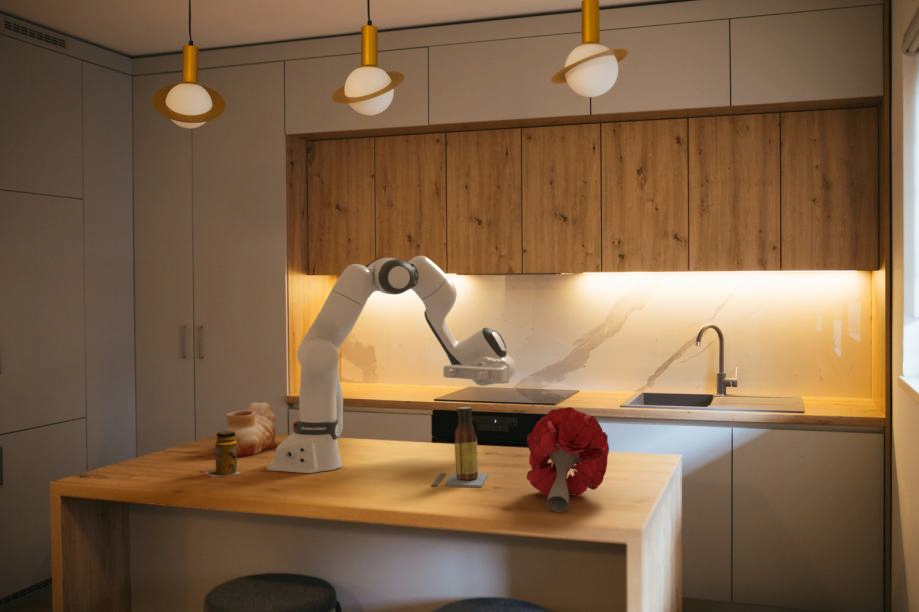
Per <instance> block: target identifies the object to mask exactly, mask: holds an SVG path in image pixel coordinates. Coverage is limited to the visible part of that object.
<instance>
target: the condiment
mask: <svg viewBox="0 0 919 612" xmlns="http://www.w3.org/2000/svg"><path fill="white" fill-rule="evenodd" d="M214 446H215V447H214V448H215V450H214V451H215V470H213V471H205V472H204V473H205V474H206V475H208V476H210V477H212V478H215V477H223V476H224V477H225V476H226V477H227V476H235V475H240V474H242V472H240V471H238V457H237V442H236V441H235V432H232V431H227V430H226V431H220V432H219V431H218V432H217V433H216V442H215V445H214Z"/></svg>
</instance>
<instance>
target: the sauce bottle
mask: <svg viewBox="0 0 919 612" xmlns="http://www.w3.org/2000/svg"><path fill="white" fill-rule="evenodd" d="M472 409H473V408H472V407H470V406H458V407H457V408H456V410H457V411H456V412H457V419H458V421H457V423H458V424H457V427H456V429H455V431H454V456H455V458H454V459H455V463H454V464H455V473H456V474H457V479H460V480H474V479H476V478H478V473H479V458H478V457H479V456H478V439H477V435H476V431H475V428H474V425H473V421H472V413H473V411H472Z"/></svg>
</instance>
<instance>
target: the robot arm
mask: <svg viewBox="0 0 919 612" xmlns="http://www.w3.org/2000/svg"><path fill="white" fill-rule="evenodd" d="M409 290H412V291H413V292H414V293H415V295H417V297H418V298H419V299H420V300H421V301H422V303H423V305H424V308H425V310H424V318H425V320H426V323H427V325H428V327H429V328H430V330H431V332H432V333H433V335H434V336H435V338H436V340H437V341H438V343H439V344H440V346H441V347H442V349H443V350H444V352H445V354H446V356H447V359H448V360H449V363H450V365H444V366H443V371H442V372H443V378H448V379H463V380H472V381H473V382H474V383H475V384H476V385H478V386H483V387H484V386H485V387H486V386H491V385H496V384H509V382H510V379H511V378H512V377H513V376H514V374H515V371H516V363H515V360H514V359H513V357H511V356H510V355H509V354H508V353H507V351H508V350H507V346H506V343H505V341H504V338H503V337H502V335H501V334H500V333H499V332H498V331H496V330H494V329H493V328H489V327H484V328H482V329H480V330H478V331H477V332H475V333H473V334H472V335H469V337H467V338H465V339H464V340H462V341H458V340H456V338H455V336H454V335H453V334H452V331H451V330H450V328H449V327H448V325H447V323H446V317H447V316H448V315H449V313H450V312H451V310H452V308H453V307H454V305H455V304H456V303H455V302H456V300H457V293H458V292H457V288H456V286H455V284H454V282H453V281H452V279H450V277H449V276H448V275H447V274H446V273H445V271H443V270H442V269H441V267H439V266H438V265H437V264H436V263H435V262H433V261H432V260H431V259H430V258H429V257H427V256H425V255H418V256H415V257H413V258H411V259H409V261H408V262H407V261H405V260H402V259H397V258H395V257H379V258H376V259H374V260H372V261H371V262H369V263H368V264H366V265H363V264H359V263H352V264H349V265H348V266H346V268H345V269H344V270H343V271H342V273H341V274H340V275H339V277H338V278H337V280H336V281H335V283H334V285H333V286H332V288H331V290H330V291H329V292H330V293H329V294H328V296H327V297H326V300H325V301H324V303H323V305H322V308H321V309H320V311H319V312H318V314H317V315H316V318H315V319H314V321H313V322H312V324H311V325H310V328H308V331H307V332H306V334H305V335H304V337H303V339H302V340H301V343H300V345H299V346H298V347H297V348H298V349H297V353H296V356H297V361H298V363H299V365H300V380H299V384H300V385H299V397H298V399H299V402H298V404H299V419H297V420H296V421H294V423H292V426H291V429H292V430H293V433H292V434H290V435H289V436H287V437H286V438H285V439H283V441H282V442H281V443H279V444H278V445H276V447H275V451H274V455H273V460H271V461H269V462H268V463H267V464H266V468H265V470H266V471H273V472H275V471H277V472H290V473H301V474H313V473H319V472H327V471H333V470H338V469H339V468H340V469H341V468H342V467H343V462H342V459H341V458H342V457H341V455H340V449H339V442H338V439H339V438H338V435H339V425H338V420H337V401H336V394H337V382H338V369H339V362H340V361H339V360H340V357H339V351H340V349H341V347H342V345H343V344H344V342H345V340H346V339H347V338H348V336H349V335H350V333H351V332H352V330H353V328H354V326H355V325H356V323H357V321H358V319H359V317H360V315H361V313H362V312H363V310H364V307H365V306H366V304H367V302H368V299H369V298H370V297H371V295H373V294H374V293H375V292H380V293H382V294H385V295H401V294H403V293H405V292H407V291H409ZM337 438H338V439H337Z"/></svg>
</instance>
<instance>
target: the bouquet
mask: <svg viewBox="0 0 919 612" xmlns="http://www.w3.org/2000/svg"><path fill="white" fill-rule="evenodd" d="M608 437H609V436H608V434H607V433H606V432H605V431H603V428H602V426H601V425H600V423H599V421H598V419H596V418H595V416H593V415H590V414H587V413H584V412H583V411H578V410H577V409H575V408H574V407H571V406H567V407H561V408H557V409H551V410H550V411H549V412H548V413H547V414H545V415H544V416H542V417H541V418H540V419H539V420H538V421H537V422H536V423H535V426H534V428H533V429H532V431H531V432H530V433H527V437H526V439H527V440H526V443H527V446H528V450H529V452H530V453H529V458H528V459H529V460H528V461H529V462H528V463H529V465H530V466H531V470H528V471H527V473H526V479H527V480H528V481H529V483H530V485H531V486H532V487H533V488H534V489H536V490H537V491H538V492H540V493H542V494H544V495H545V496H546V498H547V500H546V501H547V502H546V505H547V507H548V508H549V509H550V510H551V511H553V512H556V513H557V512H559V513H561V512H564V511H566V509H567V508H568V507H569V503H570V502H569V501H570V496H577V497H578V496H580V495H582V494H584V493H585V492H586V491H587V489H590V490H591V491H592V490H593V491H594V490H597V489H598V488H599V487H600V486H601V484H602V483H603V481H604V478H605V477H604V476H605V475H606V473H607V468H608V459H609V458H608V457H609V452H610V446H609V442H608ZM550 460H551V462H549V461H550ZM570 469H572V470H573V474H571V473H569V471H570ZM568 473H569V474H568Z"/></svg>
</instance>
